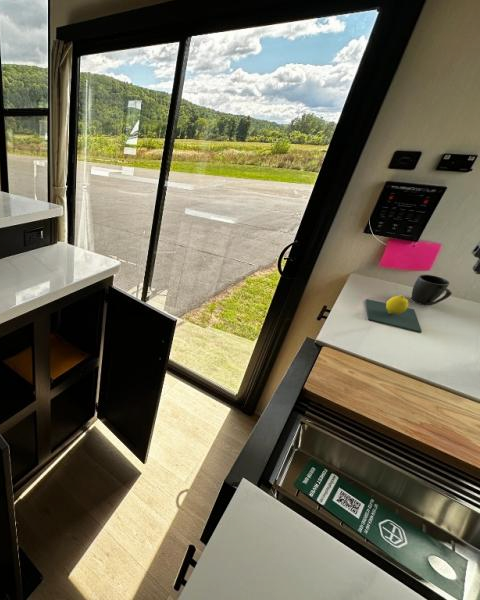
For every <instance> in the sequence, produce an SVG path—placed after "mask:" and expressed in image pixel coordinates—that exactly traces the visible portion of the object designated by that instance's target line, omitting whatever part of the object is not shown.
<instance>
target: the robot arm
mask: <svg viewBox="0 0 480 600" xmlns="http://www.w3.org/2000/svg"><path fill="white" fill-rule="evenodd" d="M471 254H472V255H473V257H475V258H477V260H476V262H475V263H474V265H473V266H472V270H473V273H474V274H475V275H480V240H479V241H478V242H477V244H476V245H475V247H474V248H473V249H472V250H471Z"/></svg>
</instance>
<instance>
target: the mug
mask: <svg viewBox="0 0 480 600" xmlns="http://www.w3.org/2000/svg"><path fill="white" fill-rule="evenodd" d="M450 284H451V283H450V281H448V279H445V278H443V277H440V276H437V275H431V274H419V276H418V277H417V278H416V280H415V282H414V284H413V286H412V291H411V295H410V296H411V297H410V300H411V299H412V300H413V301H412V300H411V301H412V302H414V301H415V302H414V303H416V302H417V304H419V303H420V304H419V305H423V304H424V305H423V306H425V305H426V306H434V305H437V304H438V303H440V302H442V301H444V300H446V299H448V298H450V297H451V295H452V293H453V292H452V290H451V289H449V288H448V287H449V285H450ZM443 294H444V295H443ZM442 295H443V296H442Z"/></svg>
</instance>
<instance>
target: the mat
mask: <svg viewBox="0 0 480 600" xmlns="http://www.w3.org/2000/svg"><path fill="white" fill-rule="evenodd" d="M386 303H387V302H382V301H377V300H372V299H369V298H366V299H365V306H366V307H365V308H366V315H367V320H368V321H371V322H373V323H374V322H375V323H379V324H383V325H387V326H391V327H395V328H400V329H404V330H407V331H412V332H415V333H420V334H422V333H423V330H422V327H421V325H420V322H419V319H418V317H417V313H416V310H415V309H414V308H410V307H408V308H407V309H406V310H405V311H404V312H402V313H399V314H390V313H389V311H388V310H387V309H386Z"/></svg>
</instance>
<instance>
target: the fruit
mask: <svg viewBox="0 0 480 600" xmlns="http://www.w3.org/2000/svg"><path fill="white" fill-rule="evenodd" d="M385 303H386V309H387V310H388V311H389V313H390V314H399V313H402V312H404V311H405V310H406V309H407V308H409V300H408V299H407V298H405V296H404V295H401V294H400V295H396V296H395V295H394V296H392V297H391V298H389V299H388V300H387V302H385Z"/></svg>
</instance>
